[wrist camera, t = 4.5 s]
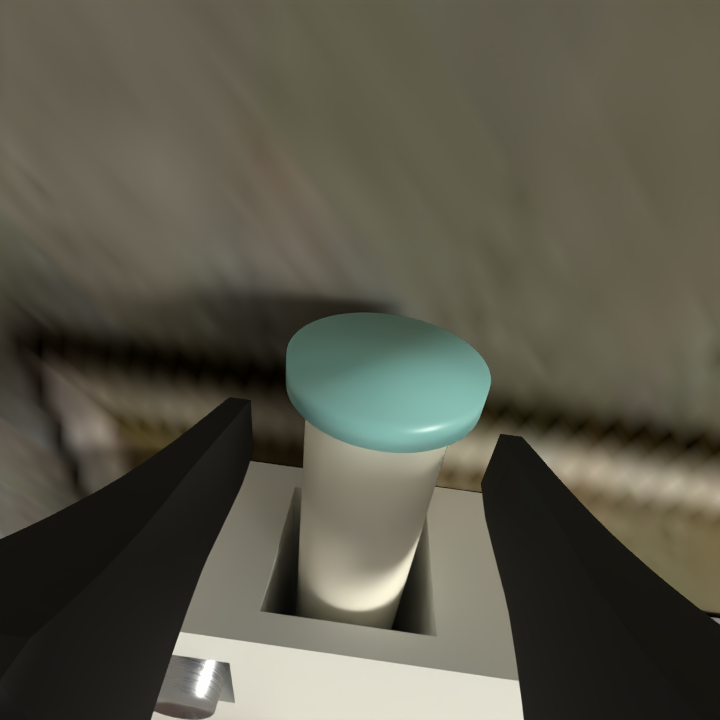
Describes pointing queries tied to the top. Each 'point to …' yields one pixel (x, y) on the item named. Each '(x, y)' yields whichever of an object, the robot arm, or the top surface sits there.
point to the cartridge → (373, 452)
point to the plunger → (191, 688)
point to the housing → (346, 641)
